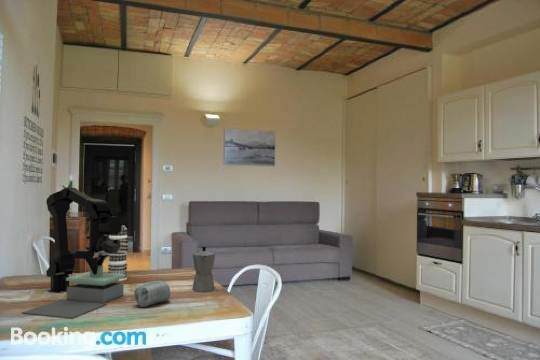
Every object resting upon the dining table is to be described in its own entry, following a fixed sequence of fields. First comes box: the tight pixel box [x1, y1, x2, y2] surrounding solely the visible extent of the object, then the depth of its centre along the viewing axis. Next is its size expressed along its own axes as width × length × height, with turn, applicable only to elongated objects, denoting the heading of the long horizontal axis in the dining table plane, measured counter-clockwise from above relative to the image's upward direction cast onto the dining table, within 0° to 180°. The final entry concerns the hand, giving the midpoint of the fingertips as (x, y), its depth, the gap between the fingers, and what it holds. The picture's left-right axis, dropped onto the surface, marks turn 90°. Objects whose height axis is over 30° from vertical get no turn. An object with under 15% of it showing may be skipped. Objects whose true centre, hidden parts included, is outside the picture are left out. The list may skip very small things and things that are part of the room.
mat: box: [21, 299, 108, 320], centre depth 142 cm, size 20×17×1 cm
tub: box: [66, 282, 125, 304], centre depth 157 cm, size 16×12×5 cm
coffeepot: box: [191, 246, 216, 293], centre depth 174 cm, size 15×9×18 cm, turn 13°
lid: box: [66, 265, 125, 286], centre depth 157 cm, size 17×13×6 cm
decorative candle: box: [107, 224, 130, 282], centre depth 192 cm, size 9×9×25 cm
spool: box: [134, 280, 171, 308], centre depth 150 cm, size 14×10×10 cm
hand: (96, 274), depth 157 cm, fingers closed on lid
